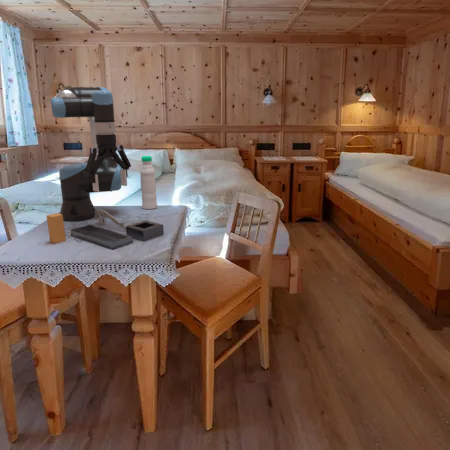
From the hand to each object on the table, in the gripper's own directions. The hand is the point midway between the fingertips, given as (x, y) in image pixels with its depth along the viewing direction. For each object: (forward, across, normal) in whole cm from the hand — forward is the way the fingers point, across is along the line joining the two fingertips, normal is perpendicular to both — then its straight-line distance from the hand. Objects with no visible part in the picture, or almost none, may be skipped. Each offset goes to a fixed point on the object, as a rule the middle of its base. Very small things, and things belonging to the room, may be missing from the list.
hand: (110, 188), depth 161 cm
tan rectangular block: (+16, -23, +3) cm, 29 cm away
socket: (+16, +1, -18) cm, 24 cm away
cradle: (+16, -12, -8) cm, 22 cm away
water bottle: (+17, +31, +13) cm, 37 cm away
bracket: (+17, 0, 0) cm, 17 cm away
